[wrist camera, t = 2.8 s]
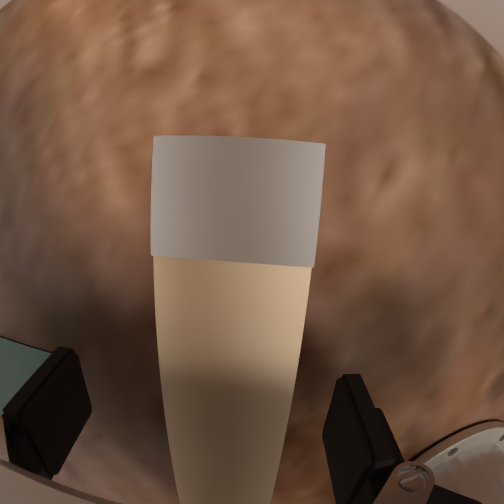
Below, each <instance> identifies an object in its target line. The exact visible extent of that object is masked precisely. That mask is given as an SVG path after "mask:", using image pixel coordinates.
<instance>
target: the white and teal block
mask: <svg viewBox="0 0 504 504" xmlns="http://www.w3.org/2000/svg"><path fill="white" fill-rule="evenodd" d="M51 354H52V353H48V352H45V351H41V350H38V349H35V348H31V347H28V346H25V345H22V344H19V343H16V342H13V341H10V340H7V339H4V338H1V337H0V415H2V414H3V413H4V412H3V410H2V409H3V408H4V407H5V406H6V404H7V403H8V402H9V401H10V400H11V399H12V397H13V396H14V395H15V394H16V393H17V392H18V390H19V389H20V388H21V387H22V386H23V385H24V384H25V382H26V381H27V380H28V379H29V378H30V377H31V376H32V375H33V373H34V372H35V371H36V370H37V369H38V368H39V367H40V366H41V365H42V363H43V362H44V361H45V360H46V359H47V358H48V357H49V356H50V355H51Z"/></svg>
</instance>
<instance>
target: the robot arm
mask: <svg viewBox="0 0 504 504" xmlns="http://www.w3.org/2000/svg"><path fill="white" fill-rule="evenodd" d="M2 410H3V412H4V413H3V414H2V415H0V504H121V503H118V502H114V501H110V500H107V499H103V498H100V497H97V496H93V495H90V494H87V493H84V492H81V491H78V490H75V489H72V488H70V487H67V486H64V485H61V484H59V483H56V482H54V481H51V480H52V478H53V476H54V474H55V475H56V474H58V473H59V471H60V469H61V467H62V465H63V464H64V462H65V460H66V458H67V456H68V454H69V452H70V451H71V449H72V447H73V445H74V443H75V442H76V440H77V438H78V436H79V434H80V433H81V431H82V429H83V427H84V425H85V424H86V422H87V420H88V418H89V417H90V415H91V412H92V406H91V402H90V399H89V395H88V392H87V388H86V385H85V381H84V377H83V373H82V369H81V365H80V361H79V357H78V355H77V354H76V353H75V351H74V350H73V349H70V348H66V347H61V346H59V347H57V348H56V349H55V350H54V351H53V353H52V354H51V355H50V356H49V357H48V358H47V359H46V360H45V361H44V362H43V363H42V365H41V366H40V367H39V368H38V369H37V370H36V371H35V372H34V373H33V375H32V376H31V377H30V378H29V379H28V380H27V381H26V382H25V384H24V385H23V386H22V387H21V388H20V389H19V390H18V392H17V393H16V394H15V395H14V396H13V397H12V399H11V400H10V401H9V402H8V403H7V404H6V406H5V407H4V408H3V409H2ZM322 437H323V443H324V447H325V452H326V457H327V462H328V466H329V471H330V476H331V481H332V486H333V491H334V496H335V501H336V504H504V422H499V421H493V422H486V423H482V424H478V425H475V426H473V427H470V428H468V429H465V430H463V431H461V432H459V433H457V434H455V435H453V436H451V437H449V438H447V439H446V440H444V441H442V442H440V443H439V444H437V445H435V446H434V447H432V448H431V449H429V450H428V451H426V452H425V453H423V454H422V455H421V456H419V457H418V458H417V459H415V460H414V461H408V462H404V459H403V457H402V455H401V452H400V450H399V448H398V445H397V443H396V441H395V438H394V436H393V434H392V432H391V429H390V427H389V425H388V423H387V420H386V418H385V416H384V414H383V412H382V410H381V409H380V408H375V406H374V404H373V402H372V400H371V397H370V395H369V393H368V391H367V388H366V386H365V384H364V382H363V379H362V377H361V375H360V374H344V375H343V376H342V378H338V379H337V381H336V385H335V389H334V393H333V396H332V400H331V404H330V407H329V411H328V414H327V418H326V421H325V424H324V428H323V433H322ZM38 474H39V475H38ZM41 476H42V477H41Z"/></svg>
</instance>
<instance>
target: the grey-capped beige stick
mask: <svg viewBox="0 0 504 504" xmlns="http://www.w3.org/2000/svg"><path fill="white" fill-rule="evenodd" d="M324 158H325V144H321V143H312V142H302V141H292V140H280V139H266V138H250V137H229V136H154V142H153V160H152V183H151V255H153V262H154V295H155V315H156V331H157V345H158V357H159V368H160V378H161V387H162V396H163V405H164V413H165V420H166V427H167V434H168V441H169V447H170V454H171V460H172V465H173V471H174V476H175V482H176V487H177V492H178V497H179V502H180V504H270V503H271V499H272V495H273V491H274V486H275V482H276V477H277V473H278V468H279V464H280V459H281V454H282V449H283V444H284V440H285V435H286V429H287V424H288V419H289V414H290V408H291V403H292V397H293V392H294V386H295V380H296V374H297V368H298V362H299V356H300V349H301V343H302V336H303V329H304V323H305V315H306V308H307V301H308V293H309V285H310V277H311V269H312V268H314V264H315V255H316V246H317V237H318V227H319V217H320V207H321V196H322V184H323V172H324Z"/></svg>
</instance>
